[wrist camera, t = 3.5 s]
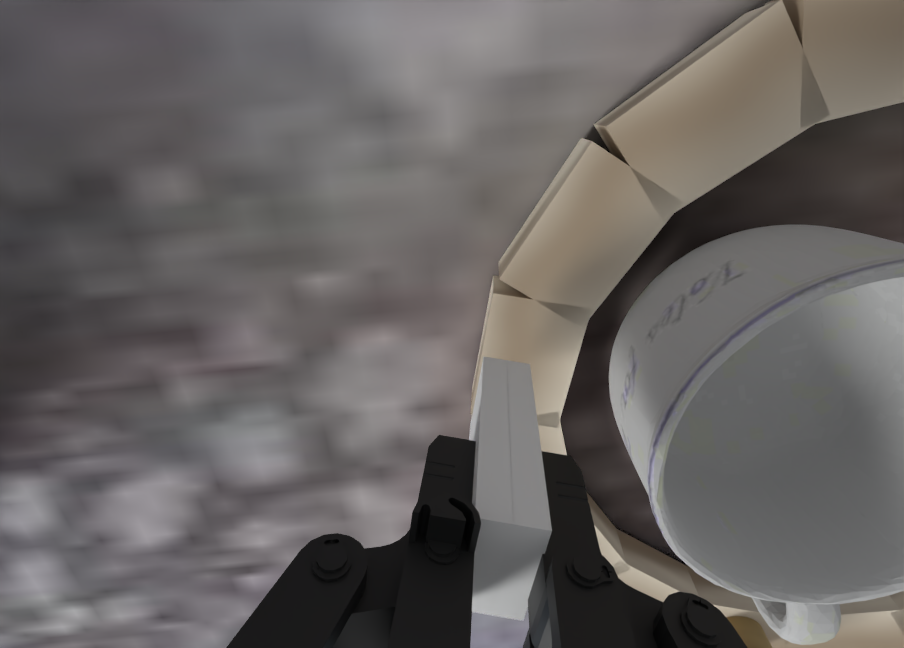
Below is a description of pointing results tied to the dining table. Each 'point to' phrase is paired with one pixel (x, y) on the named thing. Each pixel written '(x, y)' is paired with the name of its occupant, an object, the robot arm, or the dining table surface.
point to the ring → (654, 202)
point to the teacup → (774, 417)
